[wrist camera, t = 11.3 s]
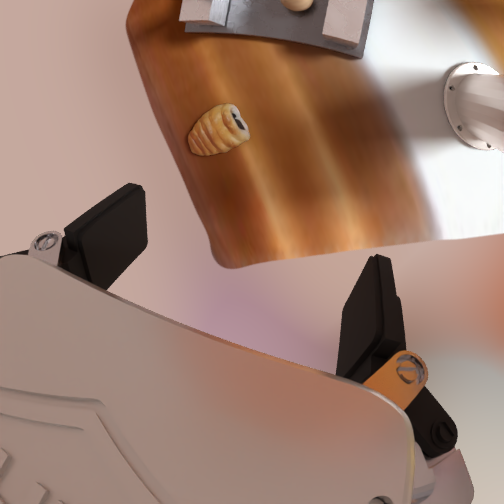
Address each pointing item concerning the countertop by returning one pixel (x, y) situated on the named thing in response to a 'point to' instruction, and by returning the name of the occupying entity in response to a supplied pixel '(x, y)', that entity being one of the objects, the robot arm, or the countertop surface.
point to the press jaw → (204, 12)
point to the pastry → (218, 131)
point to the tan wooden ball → (297, 4)
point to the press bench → (299, 23)
